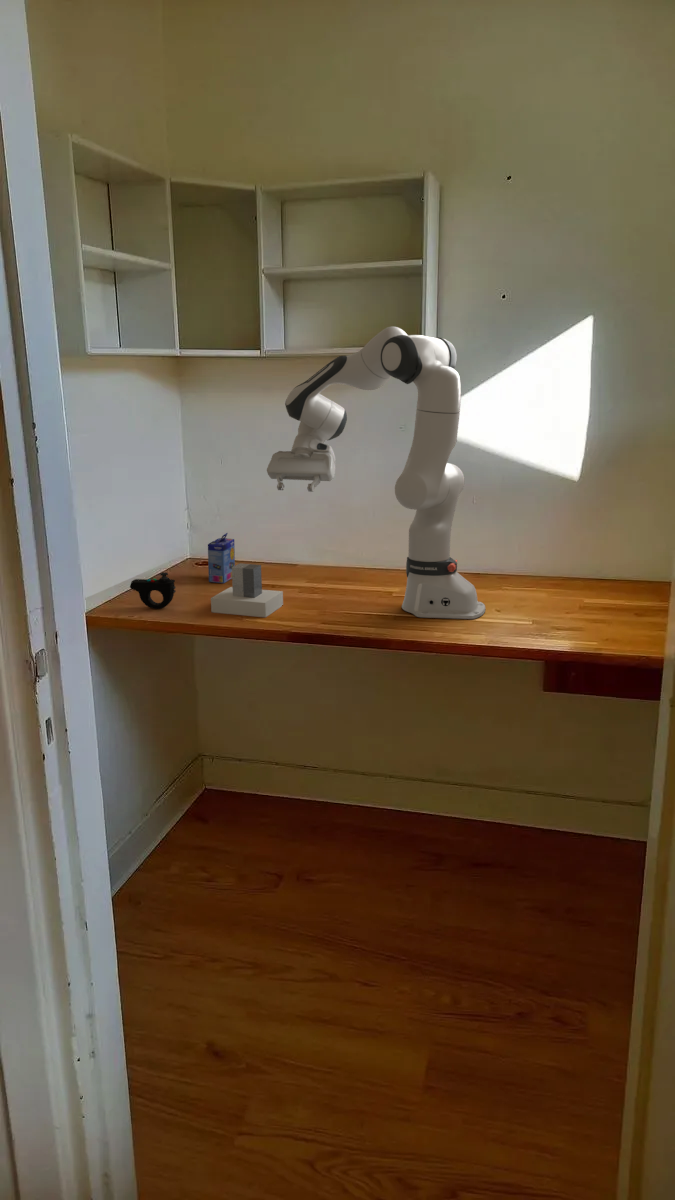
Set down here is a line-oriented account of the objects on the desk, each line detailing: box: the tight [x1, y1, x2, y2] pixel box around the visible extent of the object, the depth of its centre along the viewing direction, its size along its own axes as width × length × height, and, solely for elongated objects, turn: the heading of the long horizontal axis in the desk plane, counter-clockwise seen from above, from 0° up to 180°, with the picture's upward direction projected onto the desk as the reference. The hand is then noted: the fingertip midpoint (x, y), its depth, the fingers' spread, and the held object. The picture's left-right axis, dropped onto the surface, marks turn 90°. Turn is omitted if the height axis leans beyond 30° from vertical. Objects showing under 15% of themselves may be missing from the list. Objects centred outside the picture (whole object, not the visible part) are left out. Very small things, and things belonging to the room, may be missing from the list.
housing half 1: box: [231, 562, 251, 597], centre depth 230 cm, size 3×5×8 cm, turn 161°
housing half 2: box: [243, 563, 263, 598], centre depth 229 cm, size 3×5×8 cm, turn 161°
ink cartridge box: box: [207, 532, 236, 584], centre depth 261 cm, size 10×6×14 cm, turn 166°
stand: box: [210, 586, 284, 618], centre depth 231 cm, size 16×12×4 cm
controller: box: [129, 572, 177, 610], centre depth 232 cm, size 4×12×10 cm, turn 84°
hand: (294, 489), depth 244 cm, fingers open, 8 cm apart
